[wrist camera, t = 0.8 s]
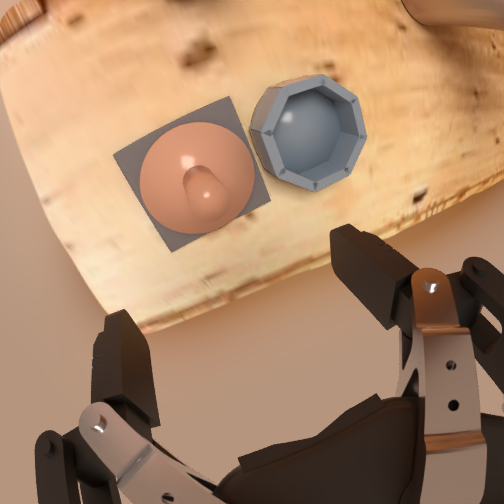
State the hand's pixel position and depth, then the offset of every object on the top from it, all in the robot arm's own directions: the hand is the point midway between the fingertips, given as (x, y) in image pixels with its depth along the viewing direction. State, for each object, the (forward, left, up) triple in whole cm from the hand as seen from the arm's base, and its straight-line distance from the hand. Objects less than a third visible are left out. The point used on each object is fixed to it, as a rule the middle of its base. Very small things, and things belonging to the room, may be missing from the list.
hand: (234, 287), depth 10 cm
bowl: (-13, +2, -20) cm, 24 cm away
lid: (-1, +2, -19) cm, 19 cm away
